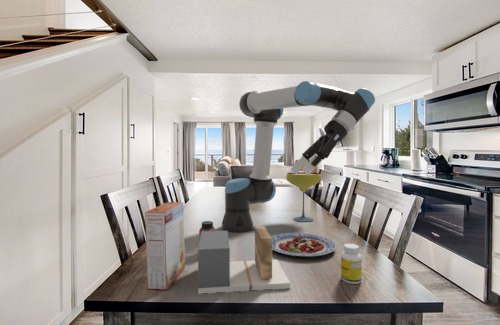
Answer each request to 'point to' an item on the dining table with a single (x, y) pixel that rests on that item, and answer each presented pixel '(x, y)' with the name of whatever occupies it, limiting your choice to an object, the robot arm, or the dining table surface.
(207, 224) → the supplement bottle
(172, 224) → the cracker box
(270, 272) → the plate
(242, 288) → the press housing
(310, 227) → the dining table surface
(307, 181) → the cocktail glass
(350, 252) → the supplement bottle
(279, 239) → the ceramic plate
